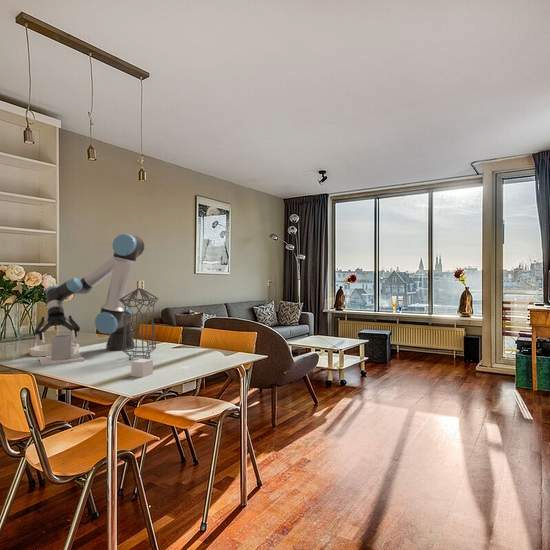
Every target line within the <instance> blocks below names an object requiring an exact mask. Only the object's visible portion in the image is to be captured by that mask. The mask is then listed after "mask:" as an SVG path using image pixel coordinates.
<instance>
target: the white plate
mask: <svg viewBox="0 0 550 550" xmlns="http://www.w3.org/2000/svg"><path fill="white" fill-rule="evenodd" d="M77 351H79V352H80V344H79V343H73V342H71V353H72V354H75V353H74V352H76V353H78V352H77ZM30 355H32V356H33V357H36V356H51V343H49V344H45V345H44V346H43V345H42V344H41V345H36V346H33V347H30V348H29V356H30Z"/></svg>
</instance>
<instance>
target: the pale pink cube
mask: <svg viewBox="0 0 550 550" xmlns="http://www.w3.org/2000/svg"><path fill="white" fill-rule="evenodd" d="M130 361H131V362H130V368H131V369H130V370H131V371H130V372H131V374H130V376H131V377H139V378H145V377H147V376H150V375H151V376H152V375H153V374H154V372H153V369H154V367H153V365H154V364H153V362H154V361H153V359H149V358H148V359H147V358H146V359H145V358H144V359H143V358H139V360H130Z"/></svg>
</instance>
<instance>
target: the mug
mask: <svg viewBox="0 0 550 550" xmlns="http://www.w3.org/2000/svg"><path fill="white" fill-rule="evenodd" d="M50 339H51V340H50V344H51V359H52V360H66V359H70V358H71V343H72V340H71V339H72V336H71V335H70V334H60V335H59V334H58V335H53V336H52V335H51V338H50Z"/></svg>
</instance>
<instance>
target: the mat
mask: <svg viewBox="0 0 550 550" xmlns="http://www.w3.org/2000/svg"><path fill="white" fill-rule="evenodd" d="M38 360H40V361H39V363H40V365H41V366H49V365H50V364H52V365H59V364H60V363H61V364H68V363H69V362H70V363H76V362H77V361H79V362H84V361H85V358H84V357H83V356H82V355H81V354H80V353H79V352H76V353H72V354H71V358H70V359H66V360H52V359H51V356H46V357H38ZM77 363H78V362H77ZM50 366H51V365H50Z"/></svg>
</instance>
